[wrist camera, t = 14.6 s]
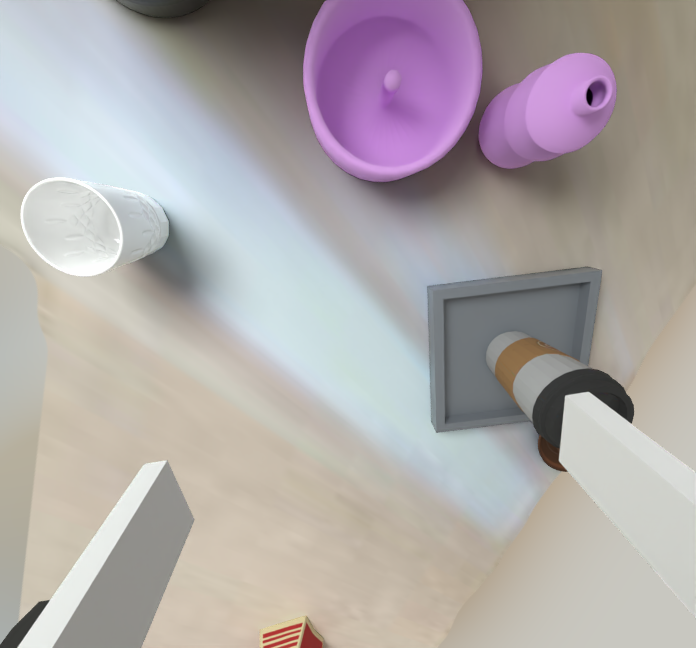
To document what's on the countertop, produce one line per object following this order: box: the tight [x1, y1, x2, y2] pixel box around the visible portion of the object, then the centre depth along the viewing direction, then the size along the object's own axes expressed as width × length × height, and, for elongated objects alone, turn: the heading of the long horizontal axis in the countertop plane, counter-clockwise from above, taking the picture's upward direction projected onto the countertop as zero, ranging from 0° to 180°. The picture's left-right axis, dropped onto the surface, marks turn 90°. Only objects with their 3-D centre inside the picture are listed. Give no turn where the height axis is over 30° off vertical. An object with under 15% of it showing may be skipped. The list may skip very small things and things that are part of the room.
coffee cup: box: [486, 331, 634, 449], centre depth 36 cm, size 8×8×15 cm
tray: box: [427, 267, 602, 433], centre depth 43 cm, size 20×20×2 cm
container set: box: [303, 0, 617, 182], centre depth 28 cm, size 25×15×13 cm, turn 79°
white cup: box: [21, 178, 169, 277], centre depth 32 cm, size 8×8×10 cm
